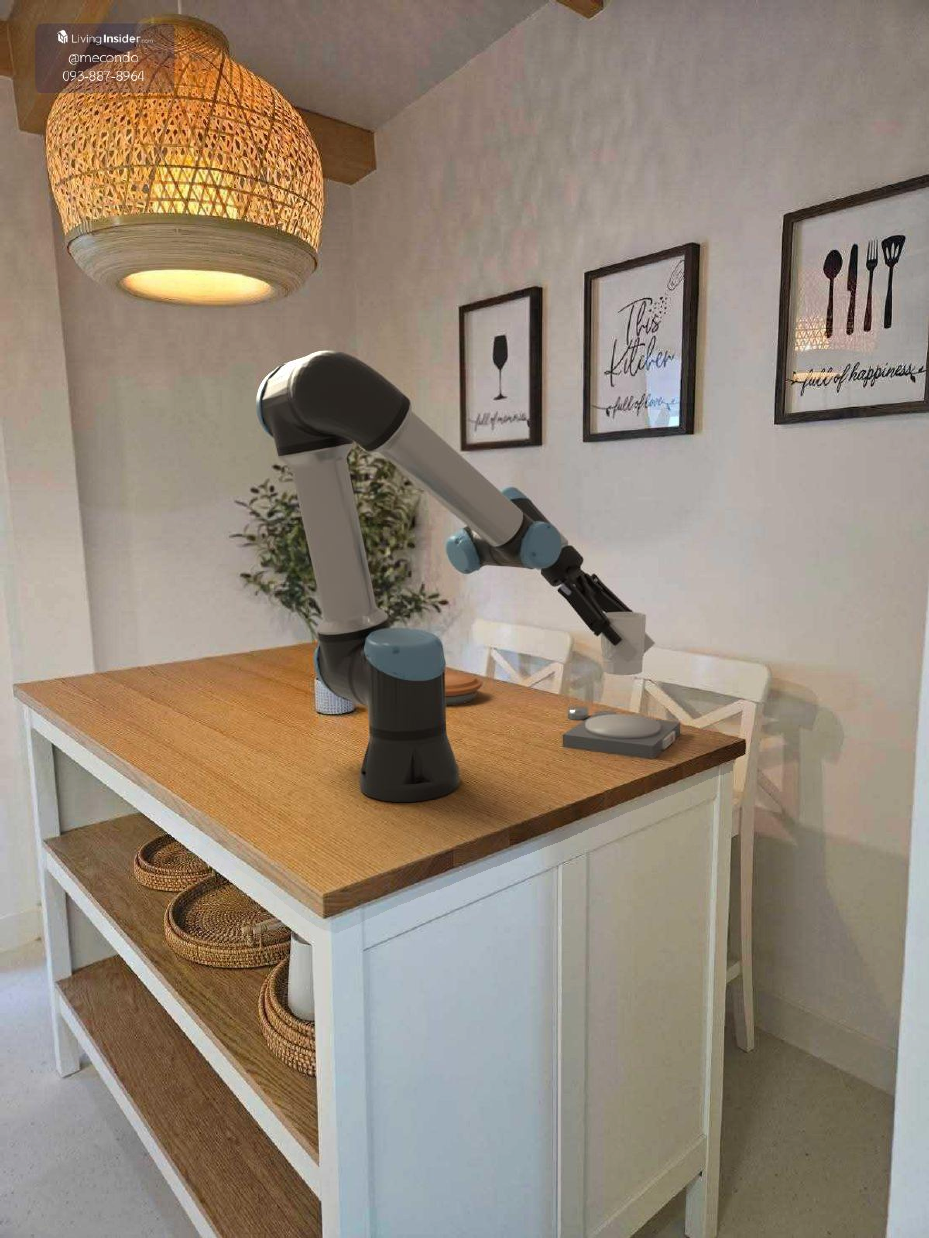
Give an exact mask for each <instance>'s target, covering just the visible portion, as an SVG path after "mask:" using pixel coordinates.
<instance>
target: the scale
mask: <svg viewBox="0 0 929 1238" xmlns="http://www.w3.org/2000/svg"><path fill="white" fill-rule="evenodd" d="M680 735H681V722H680V721H671V720H665V719H664V720H662V719H655V718H651V717H647V716H642V715H636V714H626V713H625V714H624V713H623V714H622V713H621V714H618V713H616V714H615V715H610V714H601V713H596V714H595V713H594V714H593V715H591V716H588V719H586V720H582V721H581V722H580V723H578V724H577V725H575V726H574V727H572V728H571V729H569V730H568V731H566V732H564V733H562V748H570V749H577V750H584V751H585V750H586V751H590V752H591V751H592V752H598V753H606V754H608V753H609V754H614V755H621V756H628V757H634V756H637V757H636V758H642V757H645V758H644V759H649V758H651V759H650V760H654V759H655V758H656V757H657V756H658V755H659V754H660V753H661V752H662V751H663V750H666V749H667V748H668V747H669V746H670V745H672V744H673V743H674V742H675V741H676V739H677V738H678V737H679V736H680ZM658 753H659V754H658ZM655 756H656V757H655ZM654 757H655V758H654ZM653 758H654V759H653Z"/></svg>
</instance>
